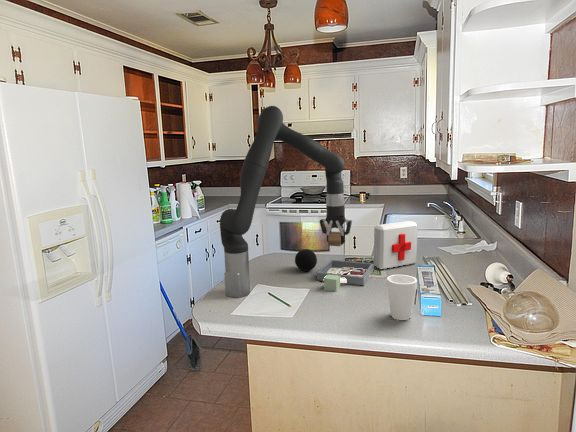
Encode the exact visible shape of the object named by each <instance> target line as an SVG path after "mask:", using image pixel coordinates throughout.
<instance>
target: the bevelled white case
mask: <svg viewBox="0 0 576 432" xmlns="http://www.w3.org/2000/svg"><path fill="white" fill-rule="evenodd" d="M373 233H374V237H373V264H374V267H375V266H376V267H378V268H382V269H384V270H388V269H387V268H390V269H394V268H393V267H395V268H399V267H398V266H401V267H404V266H403V265H406V266H410V265H409V264H411V265H415V264H416V263H417V256H418V254H417V253H418V224H417V222H416V221H412V220H405V221H398V222H391V223H382V224H376V225H375V226H374V231H373ZM376 267H375V268H376ZM378 268H377V269H378Z"/></svg>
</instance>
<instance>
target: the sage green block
mask: <svg viewBox="0 0 576 432" xmlns="http://www.w3.org/2000/svg"><path fill="white" fill-rule="evenodd" d="M340 288H341V283H340V276H338V275H329V274H328V275H327V276H326V277H325V278H324V281H323V290H324V291H326V292H327V291H328V292H335V293H336V292H337V291H339V289H340Z"/></svg>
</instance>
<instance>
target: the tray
mask: <svg viewBox="0 0 576 432" xmlns="http://www.w3.org/2000/svg"><path fill="white" fill-rule="evenodd" d="M342 267H354V268H363V269H367V270H366V272H365V273H364V274H363V276H362V277H359V276H350V275H341V274H332V273H327V271H328V270H329V269H330V268H342ZM373 270H375V266H374V263H370V262H359V261H348V260H337V259H330V260H329V261H328V262H326V263H325V264H324V265H323V266H322V267H321V268H320V269H319V270H318V271H316V281H317V282H324V281H323V279H324V277H325V276H326V275H328V274H329V275H338V276H341V277H345V278H346V279H347V283H348V284H347V285H350V284H354V285H353V286H358V285H364V284H365V285H366V283H367V282H368V280H369V279H368V277H369V275H370V274H371V272H372V271H373ZM369 278H370V277H369ZM367 279H368V280H367ZM366 281H367V282H366ZM365 282H366V283H365ZM365 285H364V286H365Z"/></svg>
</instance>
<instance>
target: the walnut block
mask: <svg viewBox="0 0 576 432" xmlns="http://www.w3.org/2000/svg"><path fill="white" fill-rule="evenodd" d="M327 244H328V246H329V247H330V246H331V247H341V246H343V244H341V233H340V231H331V232H330V233H329V234H328V242H327Z"/></svg>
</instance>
